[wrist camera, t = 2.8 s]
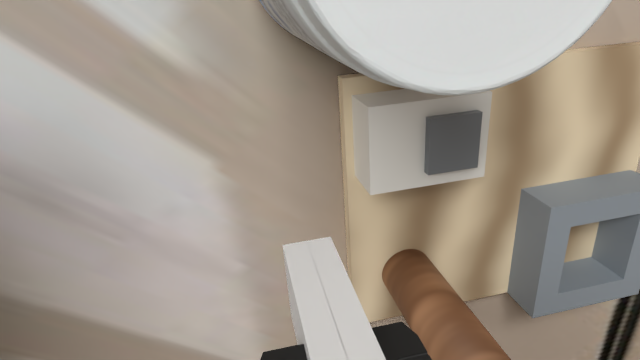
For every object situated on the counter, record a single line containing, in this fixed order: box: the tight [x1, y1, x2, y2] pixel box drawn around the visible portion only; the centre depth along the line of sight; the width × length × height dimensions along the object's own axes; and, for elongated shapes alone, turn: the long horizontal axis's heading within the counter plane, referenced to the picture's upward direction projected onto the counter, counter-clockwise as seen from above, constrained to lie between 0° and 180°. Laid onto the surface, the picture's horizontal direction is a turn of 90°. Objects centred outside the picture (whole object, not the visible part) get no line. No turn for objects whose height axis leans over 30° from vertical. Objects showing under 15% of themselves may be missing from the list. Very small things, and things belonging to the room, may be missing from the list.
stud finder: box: [352, 89, 492, 195], centre depth 25 cm, size 7×5×4 cm
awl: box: [382, 249, 511, 360], centre depth 24 cm, size 4×4×14 cm
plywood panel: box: [338, 42, 640, 322], centre depth 30 cm, size 22×18×1 cm
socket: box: [507, 170, 640, 318], centre depth 31 cm, size 9×9×3 cm
